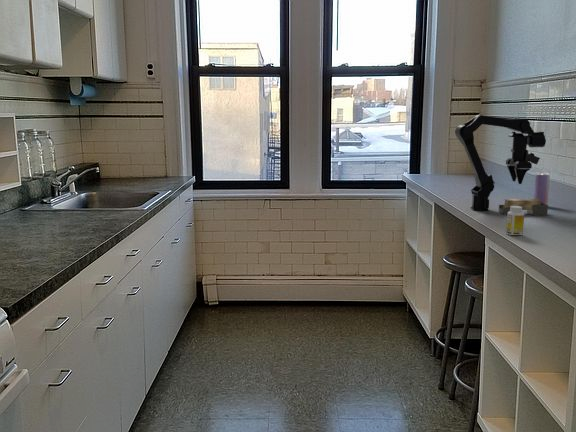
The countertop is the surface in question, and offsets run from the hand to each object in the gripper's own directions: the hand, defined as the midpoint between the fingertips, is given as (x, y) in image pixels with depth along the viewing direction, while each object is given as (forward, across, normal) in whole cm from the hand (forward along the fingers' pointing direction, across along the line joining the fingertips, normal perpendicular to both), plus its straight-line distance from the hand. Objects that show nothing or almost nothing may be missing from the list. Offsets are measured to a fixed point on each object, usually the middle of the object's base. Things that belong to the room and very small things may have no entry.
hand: (517, 182), depth 257 cm
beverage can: (+12, +10, -14) cm, 21 cm away
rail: (+10, -11, 0) cm, 15 cm away
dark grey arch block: (+12, -11, +7) cm, 18 cm away
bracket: (+12, -11, -6) cm, 17 cm away
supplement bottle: (+12, -54, +15) cm, 57 cm away
